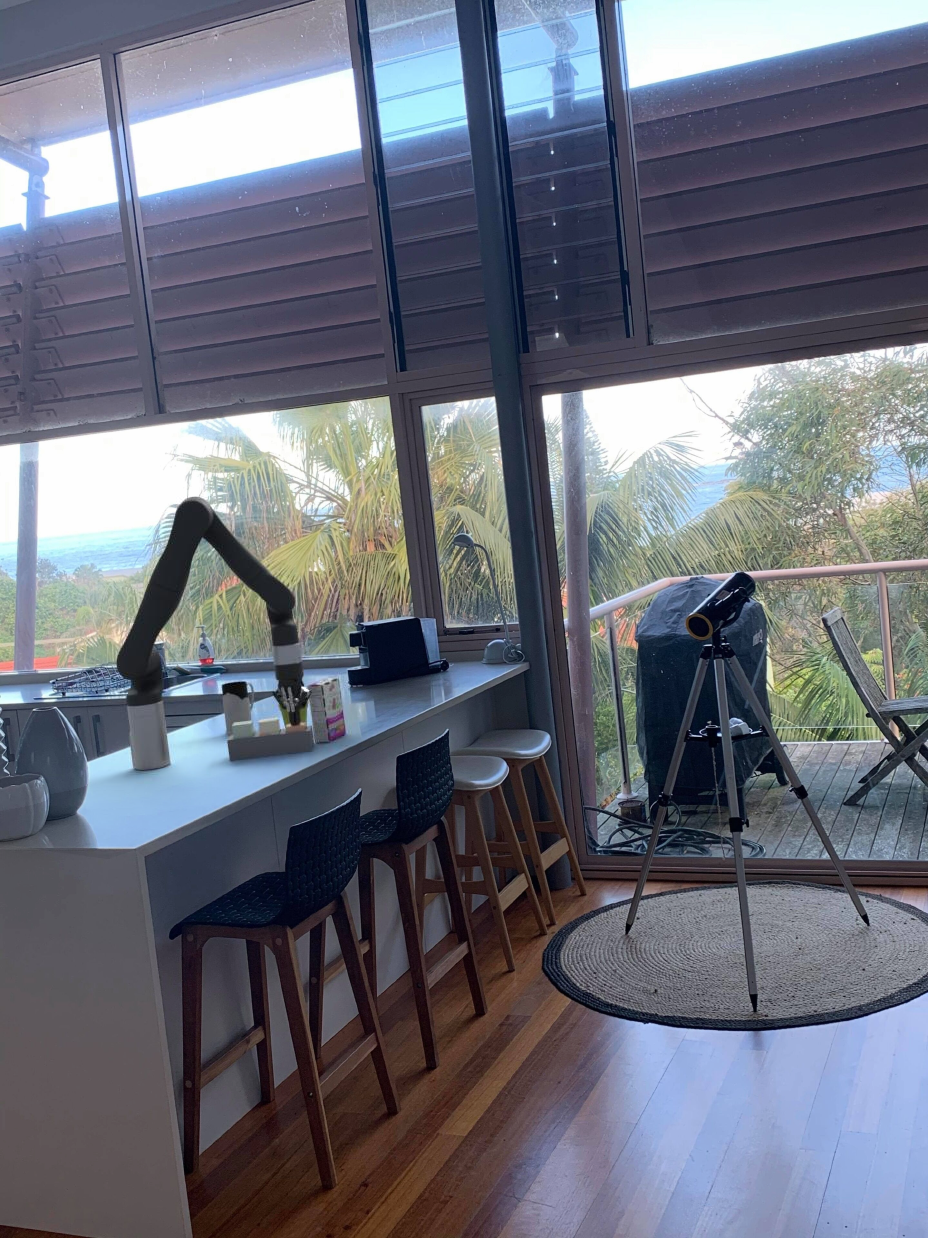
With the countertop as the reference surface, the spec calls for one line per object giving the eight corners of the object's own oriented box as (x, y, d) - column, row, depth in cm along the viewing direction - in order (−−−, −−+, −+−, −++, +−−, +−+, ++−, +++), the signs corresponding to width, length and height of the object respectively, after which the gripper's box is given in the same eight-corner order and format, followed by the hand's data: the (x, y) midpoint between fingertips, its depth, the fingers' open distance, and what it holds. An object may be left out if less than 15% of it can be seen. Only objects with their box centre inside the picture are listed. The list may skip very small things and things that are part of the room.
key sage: (234, 744, 304) (231, 725, 304) (236, 740, 309) (234, 722, 309) (253, 742, 304) (250, 723, 304) (254, 738, 309) (252, 720, 309)
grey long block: (229, 760, 303) (226, 738, 302) (233, 754, 311) (230, 733, 310) (312, 750, 304) (310, 729, 304) (314, 745, 312) (311, 724, 312)
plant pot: (315, 726, 342) (312, 698, 341) (308, 733, 333) (305, 703, 332) (285, 729, 343) (281, 701, 342) (277, 735, 334) (273, 706, 333)
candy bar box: (330, 734, 326) (324, 678, 324) (346, 734, 324) (340, 677, 323) (313, 743, 315) (306, 684, 314) (329, 742, 314) (322, 683, 312)
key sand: (260, 741, 305) (258, 722, 304) (262, 737, 310) (260, 719, 309) (279, 738, 305) (277, 720, 305) (280, 735, 310) (278, 717, 309)
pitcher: (219, 735, 344) (213, 686, 343) (245, 725, 358) (239, 678, 356) (244, 734, 341) (238, 685, 340) (269, 725, 354) (263, 677, 353)
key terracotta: (287, 745, 305) (285, 727, 305) (289, 742, 310) (286, 724, 310) (306, 743, 306) (304, 725, 305) (307, 740, 311) (305, 722, 310)
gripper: (260, 664, 307) (268, 727, 308) (295, 663, 299) (303, 728, 301) (280, 659, 313) (287, 721, 314) (315, 658, 305) (323, 722, 307)
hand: (295, 724), depth 307 cm, fingers closed
